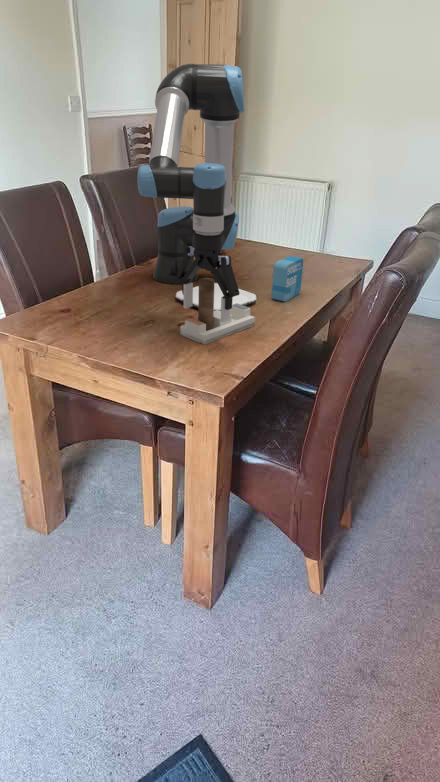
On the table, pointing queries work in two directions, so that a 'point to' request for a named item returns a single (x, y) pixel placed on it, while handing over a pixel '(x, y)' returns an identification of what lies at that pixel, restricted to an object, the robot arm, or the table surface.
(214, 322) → the socket block
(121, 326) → the table surface
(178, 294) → the plate
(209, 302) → the dowel
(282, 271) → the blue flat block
